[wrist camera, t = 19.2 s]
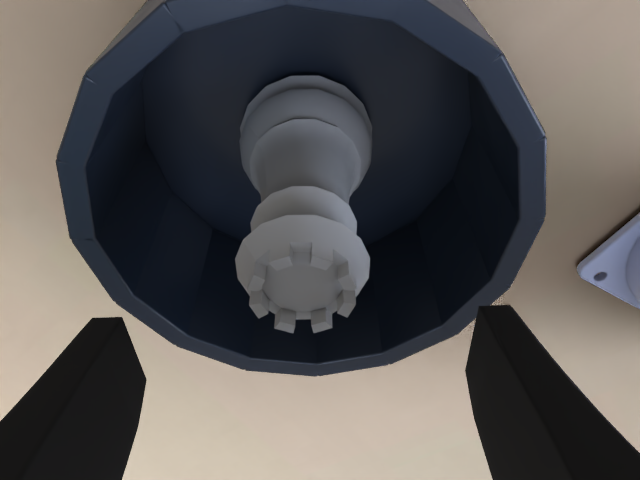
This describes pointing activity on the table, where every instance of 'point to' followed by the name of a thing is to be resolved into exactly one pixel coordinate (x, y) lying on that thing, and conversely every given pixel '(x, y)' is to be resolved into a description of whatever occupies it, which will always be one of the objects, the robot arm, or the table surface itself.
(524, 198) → the pot
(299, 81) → the rook chess piece
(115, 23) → the table surface
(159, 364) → the table surface
